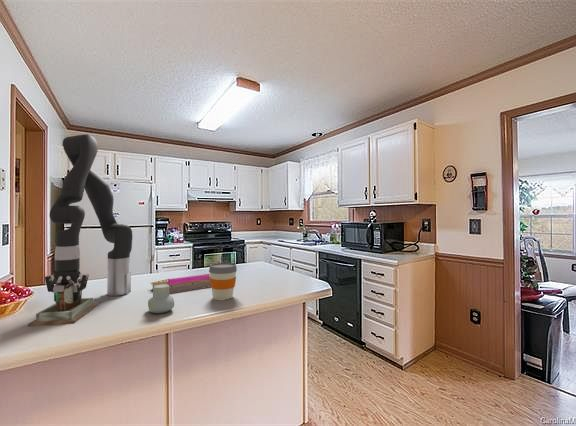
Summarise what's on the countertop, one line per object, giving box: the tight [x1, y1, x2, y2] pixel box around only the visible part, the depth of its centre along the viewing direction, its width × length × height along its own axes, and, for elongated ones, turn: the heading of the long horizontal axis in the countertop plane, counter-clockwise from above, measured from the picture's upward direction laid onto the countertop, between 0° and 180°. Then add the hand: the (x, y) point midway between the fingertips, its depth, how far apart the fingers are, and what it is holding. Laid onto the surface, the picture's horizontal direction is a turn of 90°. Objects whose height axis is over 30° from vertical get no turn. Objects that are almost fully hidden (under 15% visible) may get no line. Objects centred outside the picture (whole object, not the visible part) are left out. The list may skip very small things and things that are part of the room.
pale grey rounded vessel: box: [147, 284, 175, 314], centre depth 113 cm, size 11×8×10 cm
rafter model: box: [150, 273, 211, 294], centre depth 150 cm, size 35×14×6 cm, turn 127°
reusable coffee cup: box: [208, 262, 237, 301], centre depth 132 cm, size 13×13×15 cm
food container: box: [53, 278, 83, 312], centre depth 108 cm, size 12×6×10 cm, turn 5°
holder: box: [27, 297, 100, 327], centre depth 109 cm, size 14×20×4 cm
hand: (67, 301), depth 109 cm, fingers closed on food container, 5 cm apart
